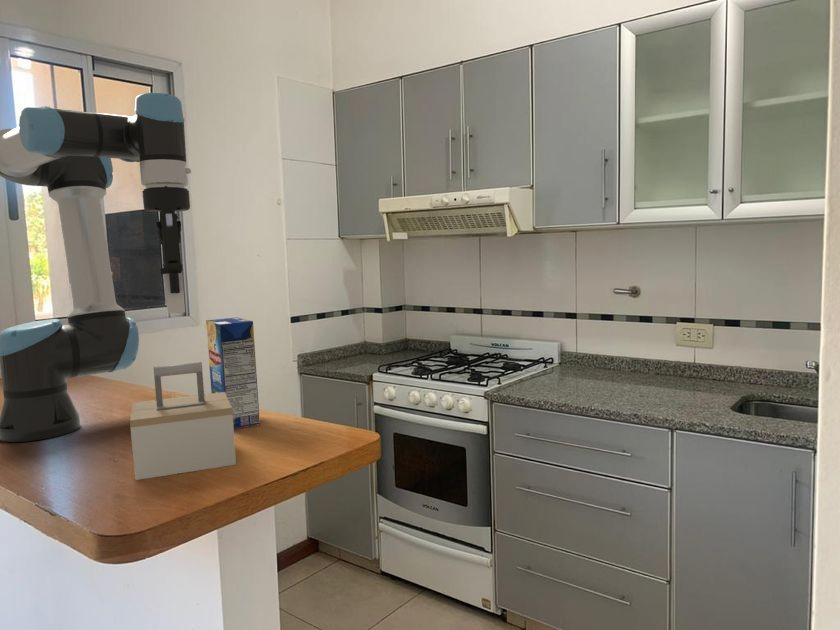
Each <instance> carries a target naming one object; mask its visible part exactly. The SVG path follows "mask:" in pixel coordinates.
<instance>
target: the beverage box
mask: <svg viewBox="0 0 840 630" xmlns="http://www.w3.org/2000/svg"><path fill="white" fill-rule="evenodd" d="M205 322H206V323H205V325H206V326H205V327H206V337H207V339H206V340H207V350H208V351H207V353H208V362H209V363H208V364H209V377H210V390H211V391H210V392H211V393H210V394H212V393H220V392H225V394H226V396H227V398H228V400H229V402H230V405H231V407H232V415H233V428H234V430H236V429H242V427H243V428H248V427H253V426H252V425H254V426H258V425H257V424H259V425H261V422H260V421H261V420H260V408H259V405H260V404H259V392H258V390H259V389H258V380H257V379H258V376H257V374H258V373H257V363H256V359H257V358H256V348H255V347H256V346H255V334H254V332H255V331H254V321H253V320H249V319H245V318H242V317H237V316H236V317H229V318H219V319H218V318H217V319H215V318H214V319H207V320H205ZM247 426H248V427H247Z"/></svg>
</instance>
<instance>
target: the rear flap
mask: <svg viewBox="0 0 840 630" xmlns="http://www.w3.org/2000/svg"><path fill="white" fill-rule="evenodd" d="M187 374H189V375H190V374H196V385H197V386H196V387H197V394H196V395H187V396H178V397H170V398H163V388H162V377H168V376H177V375H178V376H179V375H187ZM203 375H204V374H203V362H201V361H200V362H193V363H192V362H191V363H190V362H189V363H180V364H179V363H178V364H170V365H160V366H159V365H158V366H153V376H154V389H155V399H151V400H143V401H134V402H133V403H132V409H131V412H132V411H136V410H145V409H153V408H157V407H164V406H172V405H181V404H189V403H198V402H212V401H220V400H228V398H227V396H226V394H225V392H220V393H205V390H204V389H205V388H204V376H203Z"/></svg>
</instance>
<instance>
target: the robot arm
mask: <svg viewBox="0 0 840 630" xmlns="http://www.w3.org/2000/svg"><path fill="white" fill-rule="evenodd" d="M134 103H135V104H134V113H135V115H133V116H128V115H119V114H118V115H117V114H111V113H110V114H109V113H100V112H99V113H98V112H91V111H90V112H89V111H88V112H87V111H80V110H72V109H71V110H70V109H65V108H64V109H62V108H54V107H51V106H25V107H23V109H22V110H21V113H20V116H19V119H18V127H16V128H4V129H1V130H0V177H1V178H3V179H5V180H7V181H10V182H12V183H15V184H20V185H24V186H30V187H31V186H32V187H47V191H48V192H47V193H48V197H49V198H51V199H52V200H54V202H56V204H57V205H58V206H57V207H58V213H59V219H60V226H61V231H62V232H61V233H62V238H63V245H64V251H65V259H66V265H67V272H68V278H69V283H70V291H71V296H72V303H73V309H72V311H71V312H70V313H69V314H68V315H67V323H68V324H63V323H62V322H61V320H60V319H58V318H49V319H43V320H37V321H35V320H34V321H29V322H26V323H21V324H17V325H13V326H11V327H10V326H9V327H8V328H5V329H3V330H2V331H1V332H0V374H1V383H2V384H1V385H2V393H3V404H2V408H1V412H0V441H1V442H8V443H11V442H12V443H19V442H21V443H22V442H24V443H25V442H33V441H38V440H39V441H40V440H46V439H51V438H55V437H59V436H62V435H66V434H69V433H72V432H74V431H76V430H78V429H79V428H80V427H81V420H80V414H79V412H78V410H77V408H76V406H75V405H74V402H73V400H72V398H71V395H70V394H69V391H68V380H67V379H70V378H71V379H73V378H78V377H84V376H91V375H98V374H105V373H114V372H117V371H121V370H126V369H128V368H130V367H131V366H132V365H133V364H134V363H135V360H136V358H137V356H138V352H139V346H140V335H139V334H140V333H139V329H138V326H137V322H136V320H134V319H133V318H131V317H129V316H127V317H126V311H125V309H124V308H123V307H122V306H120V305H119V304H118V303H117V300H116V293H115V287H114V281H113V275H112V268H111V261H110V256H109V254H110V253H109V248H108V242H107V237H106V228H105V222H104V216H103V209H102V204H101V203H102V202H101V201H102V200H103V198H104V197H105V196H106V195H107V189H109V188H110V187H111V186H112V184H113V182H114V181H113V180H114V175H113V172H114V169H113V167H114V166H113V162H112V159H119V160H121V161H123V162H126V163H139V171H140V181H141V185H142V186H143V187H145V188H143V190H142V191H141V192H142V200H143V209H144V210H145V211H146V212H152V213H153V212H154V213H155V212H159V213H160V216H159V219H158V220H159V221H155V222H156V223H155V225H156V232H157V234H158V242H159V244H160V245H162V246H161V247H162V249H161V250H162V259H163V263H162V267H160V275H163V278H164V279H163V281H164V291H165V301H166V302H165V304H166V305H165V306H166V308H167V314H168V315H169V314H183V313H184V314H185V313H186V306H185V293H184V281H183V273H182V272H183V270H184V269H183V264H182V258H181V257H182V256H181V251H180V250H181V248H180V243H182V236H181V235H182V233H181V232H182V221H181V220H178V219H179V217H178V214H177V213H176V212H186V211H189V210H190V209H191V201H190V190H188V188H186V187H187V186H188V185H189V182H188V181H189V180H188V178H189V177H188V175H190V174H191V173H192V171H191V168H190V167H189V168H188V167H187V153H186V151H187V150H186V135H185V117H184V114H183V107H182V101H181V100H180V98H179V97H177V96H175V95H172V94H169V93H163V92H162V93H161V92H147V93H146V92H144V93H141V94H138V95H137V96H136V97H135V102H134Z"/></svg>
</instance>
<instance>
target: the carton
mask: <svg viewBox="0 0 840 630" xmlns="http://www.w3.org/2000/svg"><path fill="white" fill-rule="evenodd" d="M129 425H130V435H131V436H130V437H131V449H132V458H133V470H134V472H133V473H134V480H135V481H139V480H145V479H153V478H159V477H165V476H166V477H167V476H171V475H177V474H178V473H179V474H184V473H190V472H196V471H203V470H209V469H210V470H211V469H216V468H224V467H230V466H235V465H236V466H237V459H236V458H237V457H236V447H235V446H236V444H235V431H234V430H235V429H234V428H233V415H232V407H231V405H230V402H229V400H220V401H212V402H198V403H189V404H181V405H172V406H164V407H157V408H153V409H145V410H136V411H132V410H131V413H130V417H129ZM179 474H178V475H179Z"/></svg>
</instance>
